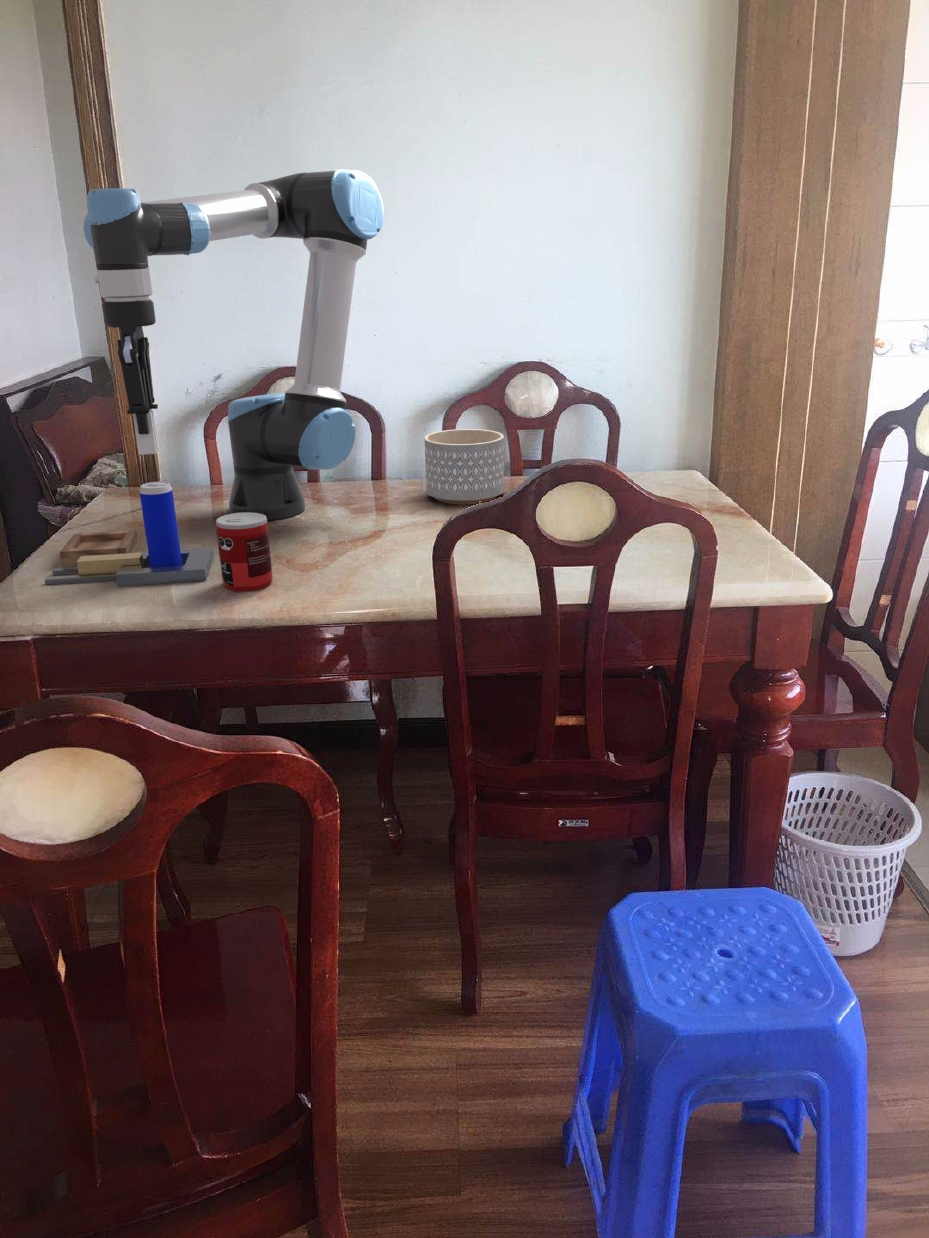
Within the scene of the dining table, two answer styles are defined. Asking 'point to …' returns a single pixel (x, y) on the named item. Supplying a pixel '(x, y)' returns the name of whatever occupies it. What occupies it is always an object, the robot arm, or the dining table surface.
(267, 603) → the dining table surface
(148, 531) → the beverage can
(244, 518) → the canned food
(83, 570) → the bar
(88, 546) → the tray
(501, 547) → the dining table surface
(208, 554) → the socket plate
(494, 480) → the planter
